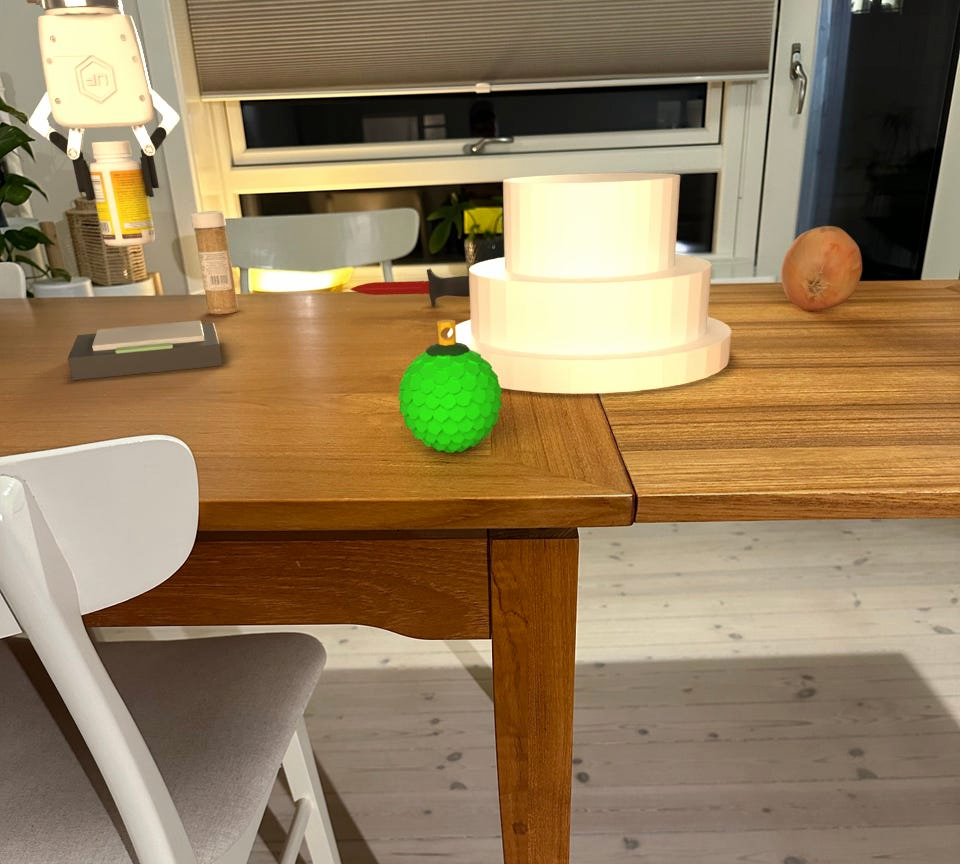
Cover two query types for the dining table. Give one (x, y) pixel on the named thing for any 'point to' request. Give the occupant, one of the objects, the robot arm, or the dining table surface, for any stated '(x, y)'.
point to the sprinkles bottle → (215, 261)
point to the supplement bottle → (120, 195)
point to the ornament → (450, 395)
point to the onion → (821, 268)
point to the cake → (593, 289)
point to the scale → (144, 350)
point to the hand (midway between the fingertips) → (121, 196)
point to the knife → (420, 287)
